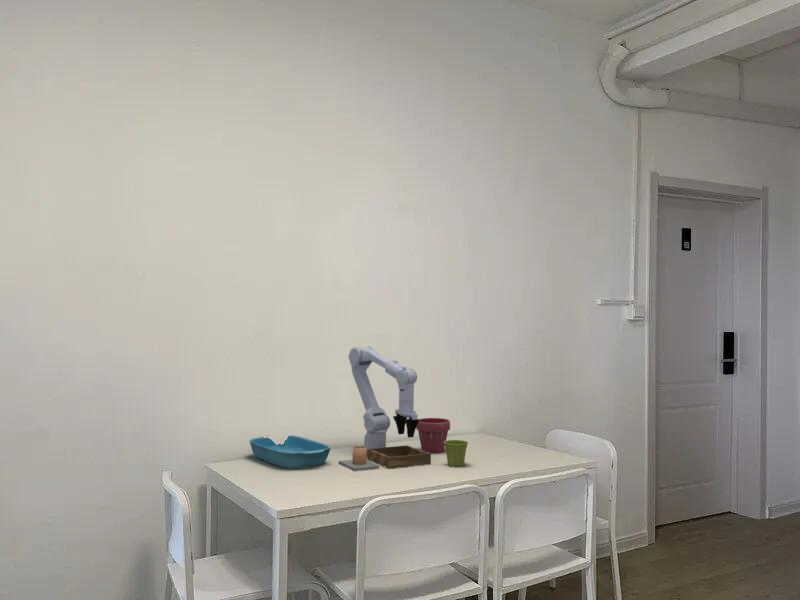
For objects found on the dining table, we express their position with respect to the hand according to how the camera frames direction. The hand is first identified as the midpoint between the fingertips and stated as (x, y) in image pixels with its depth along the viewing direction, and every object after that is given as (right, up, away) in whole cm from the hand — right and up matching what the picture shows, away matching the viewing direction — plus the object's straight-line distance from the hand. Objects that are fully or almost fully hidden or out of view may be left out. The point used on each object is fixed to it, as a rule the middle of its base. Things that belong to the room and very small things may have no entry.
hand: (405, 435), depth 282 cm
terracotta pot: (-17, -8, -12) cm, 23 cm away
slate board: (-18, -9, -12) cm, 23 cm away
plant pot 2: (+19, -10, -7) cm, 22 cm away
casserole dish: (-45, -9, -4) cm, 46 cm away
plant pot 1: (+11, -10, +18) cm, 24 cm away
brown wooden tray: (-3, -9, -4) cm, 10 cm away
